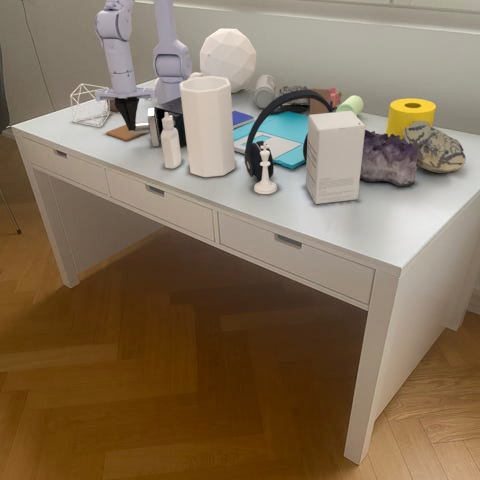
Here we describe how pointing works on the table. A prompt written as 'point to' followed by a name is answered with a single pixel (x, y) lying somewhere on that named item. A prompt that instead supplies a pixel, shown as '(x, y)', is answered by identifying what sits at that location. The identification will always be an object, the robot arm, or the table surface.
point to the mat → (123, 133)
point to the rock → (290, 89)
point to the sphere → (228, 58)
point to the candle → (351, 105)
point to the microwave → (176, 114)
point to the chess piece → (265, 174)
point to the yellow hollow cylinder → (408, 114)
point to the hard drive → (241, 119)
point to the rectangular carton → (334, 156)
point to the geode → (388, 159)
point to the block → (112, 105)
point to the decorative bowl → (434, 148)
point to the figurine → (330, 97)
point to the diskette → (278, 137)
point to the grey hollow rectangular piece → (149, 127)
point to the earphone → (254, 149)
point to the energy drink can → (264, 91)
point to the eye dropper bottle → (170, 143)
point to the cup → (208, 125)
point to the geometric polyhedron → (84, 109)
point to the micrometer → (288, 109)
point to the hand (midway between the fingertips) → (132, 129)
